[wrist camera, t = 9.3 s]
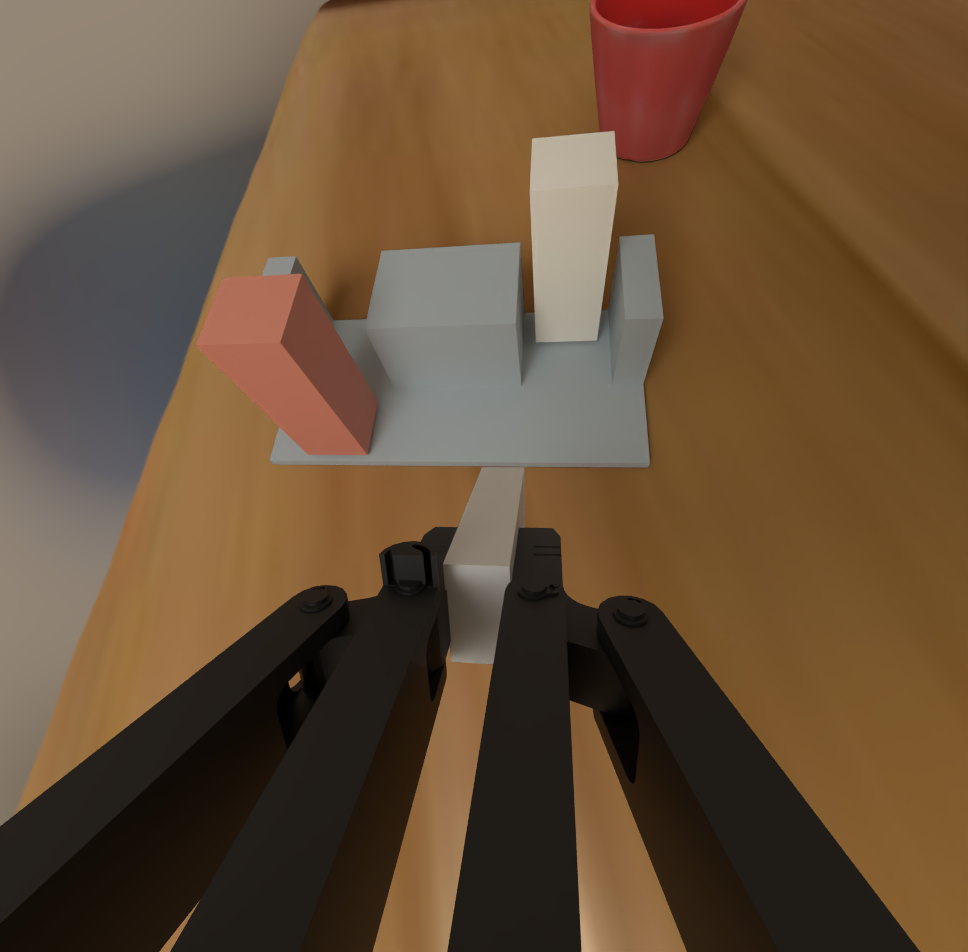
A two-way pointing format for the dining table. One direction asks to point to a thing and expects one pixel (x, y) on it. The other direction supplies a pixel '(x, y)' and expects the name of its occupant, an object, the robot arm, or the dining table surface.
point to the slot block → (494, 364)
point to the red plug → (290, 362)
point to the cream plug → (571, 232)
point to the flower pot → (657, 68)
